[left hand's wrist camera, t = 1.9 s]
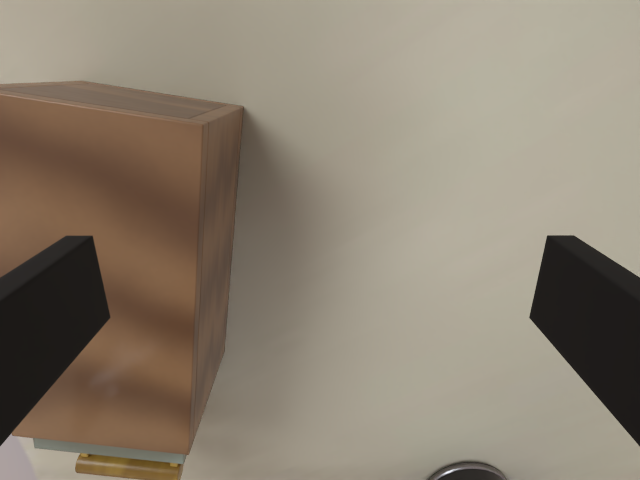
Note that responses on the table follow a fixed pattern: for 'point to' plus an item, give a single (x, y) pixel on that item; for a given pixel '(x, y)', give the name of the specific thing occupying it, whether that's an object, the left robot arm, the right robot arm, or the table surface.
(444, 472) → the right robot arm
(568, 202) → the table surface
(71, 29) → the table surface
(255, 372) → the table surface
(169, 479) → the drawer
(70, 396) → the cabinet
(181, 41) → the table surface
